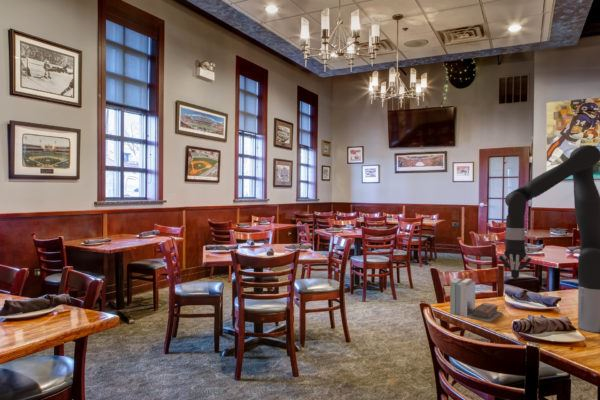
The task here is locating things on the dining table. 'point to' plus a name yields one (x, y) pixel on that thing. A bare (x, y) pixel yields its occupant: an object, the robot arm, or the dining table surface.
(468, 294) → the bookend
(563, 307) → the dining table surface
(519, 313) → the dining table surface
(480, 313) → the packaged product
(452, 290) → the book row
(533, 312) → the dining table surface
